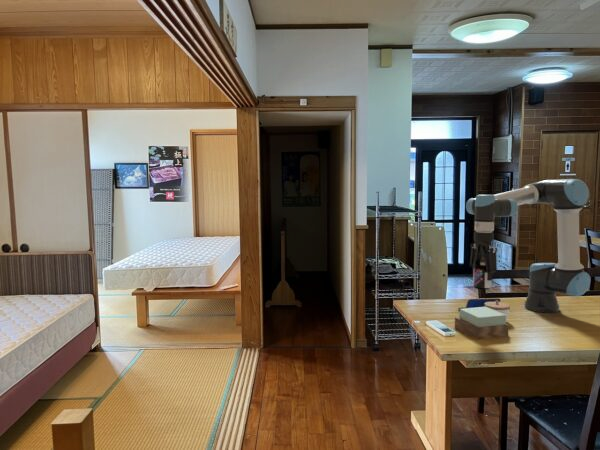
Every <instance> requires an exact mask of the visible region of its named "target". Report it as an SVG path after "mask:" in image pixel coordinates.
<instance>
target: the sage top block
mask: <svg viewBox="0 0 600 450" xmlns="http://www.w3.org/2000/svg"><path fill="white" fill-rule="evenodd" d="M463 308H464V307H463ZM458 317H459V318H461V319H463V320H465V321H467V322H469V323H471V324H473V325H475V326H477V327H486V326H496V325H506V324H507V319H506V315H505V314H502V313H500V312H498V311H495V310H493V309H490V308H488V307H475V308H464V309H460V311H459V316H458Z"/></svg>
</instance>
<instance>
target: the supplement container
mask: <svg viewBox="0 0 600 450" xmlns="http://www.w3.org/2000/svg"><path fill="white" fill-rule="evenodd" d="M489 270H490V269H489ZM485 272H486V266H485V262H482V261H480V262H478V263H474V283H473V282H472V285H473V288H474V289H476V290H483V291H484V290H485V291H486V290H490V289H491V288H485Z"/></svg>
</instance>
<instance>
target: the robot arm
mask: <svg viewBox="0 0 600 450" xmlns="http://www.w3.org/2000/svg"><path fill="white" fill-rule="evenodd" d="M589 191H590V190H589V187H588V185H587V184H586V183H585V182H584V180H581V179H578V178H577V179H576V178H559V179H555V178H554V179H552V178H551V179H550V178H549V179H545V180H540V181H536V182H533V183H529V184H525V185H524V186H523V187H521V188H516V189H513V190H509V191H505V192H500V193H496V194H477V195H476V196H475V197H474V198H473V197H471V198H469V199H468V200H467V201H466V203H465V209H466V211H467V213H468V214H470V215H474V233H473V240H474V242H475V243H470V257H469V267H471V268H472V276H473V277H472V284H473V283H474V263H478V262H482V261H481V260H482V257H483V260H484V263H485V266H486V272H485V288H490V289H491V288H492V284H493V283H492V280H493V273H496V272H497V269H498V268H497V252H498V247H494V246H493V245H492V242H493V241H494V235H495V234H494V231H495V218H496V217H497V218H503V217H505V218H509V217H513V216H516V214H517V212H518V210H519V206H521V205H525V204H526V205H533V204H546V205H552V210H553V211H555V212H556V224H557V226H556V227H557V228H556V229H557V230H556V231H557V232H556V233H557V256H558V257H557V259H558V260H557V263H555V262H537V263H536V262H535V263H532V264H531V265H530V266H529V267H530V268H529V276H528V277H529V280H528V281H529V282H528V283H529V284H528V285H529V287H528V288H529V289H528V295H527V297H526V300H525V301H524V308H525V309H528V310H529V311H533V312H538V313H547V314H549V313H551V314H552V313H559V312H560V305H559V302H558V298H557V295H556V293H561V294H564V295H568V296H573V297H580V296H582V295H584V294H585V293H586V292H587V291H588V290H589V287H590V285H591V276H590V274H589V273H588V272H586V271H585V267H584V265H583V264H582V263H581V258H580V257H581V254H580V253H581V252H580V245H581V243H580V211H581V210H582V209H583V208H584V205H585V204H587V202H588V200H589V198H590V192H589ZM489 269H490V270H489Z"/></svg>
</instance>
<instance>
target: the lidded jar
mask: <svg viewBox="0 0 600 450" xmlns="http://www.w3.org/2000/svg"><path fill="white" fill-rule="evenodd" d="M484 307H488V308H490V309H493V310H495V311H498V312H500V313H502V314H505V315H506V320H508V318H509V316H510V309H511V305H510V304H509V303H506V302H503V301H500V302H498V301H489V302H485V303H484Z"/></svg>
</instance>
